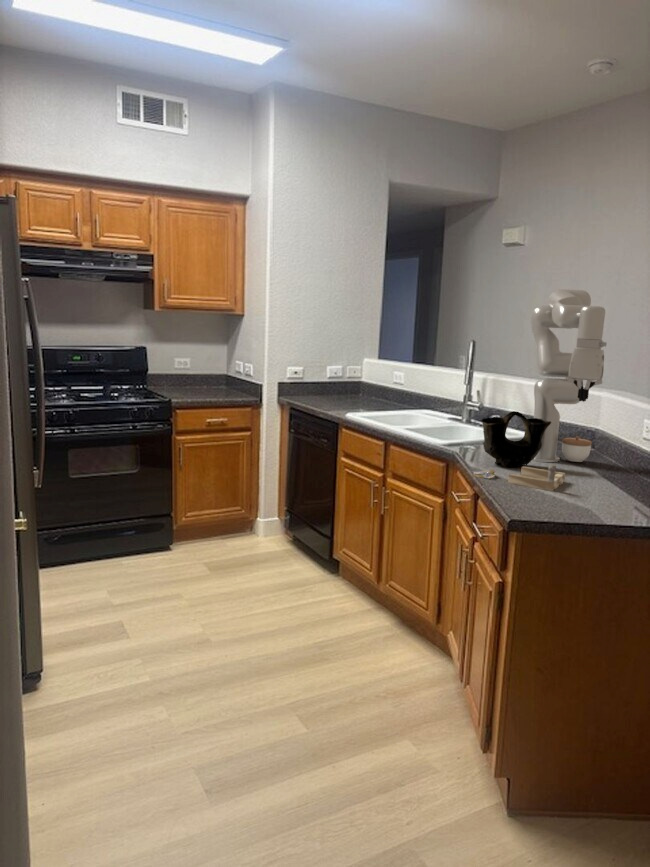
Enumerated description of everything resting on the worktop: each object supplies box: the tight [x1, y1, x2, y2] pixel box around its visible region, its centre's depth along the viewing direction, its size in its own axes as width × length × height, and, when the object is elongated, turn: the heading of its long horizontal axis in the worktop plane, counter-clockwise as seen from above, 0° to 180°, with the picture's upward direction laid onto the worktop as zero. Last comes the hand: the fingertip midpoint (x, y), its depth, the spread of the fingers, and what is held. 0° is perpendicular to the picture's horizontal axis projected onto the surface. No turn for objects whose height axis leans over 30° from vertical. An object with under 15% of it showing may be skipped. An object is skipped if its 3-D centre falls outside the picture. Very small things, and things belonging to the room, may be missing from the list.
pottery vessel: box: [480, 411, 551, 468], centre depth 236 cm, size 25×11×20 cm, turn 91°
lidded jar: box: [561, 435, 593, 463], centre depth 250 cm, size 11×11×9 cm
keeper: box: [507, 464, 566, 492], centre depth 212 cm, size 18×14×8 cm
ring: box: [473, 469, 496, 479], centre depth 218 cm, size 7×3×8 cm
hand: (582, 400), depth 214 cm, fingers closed
